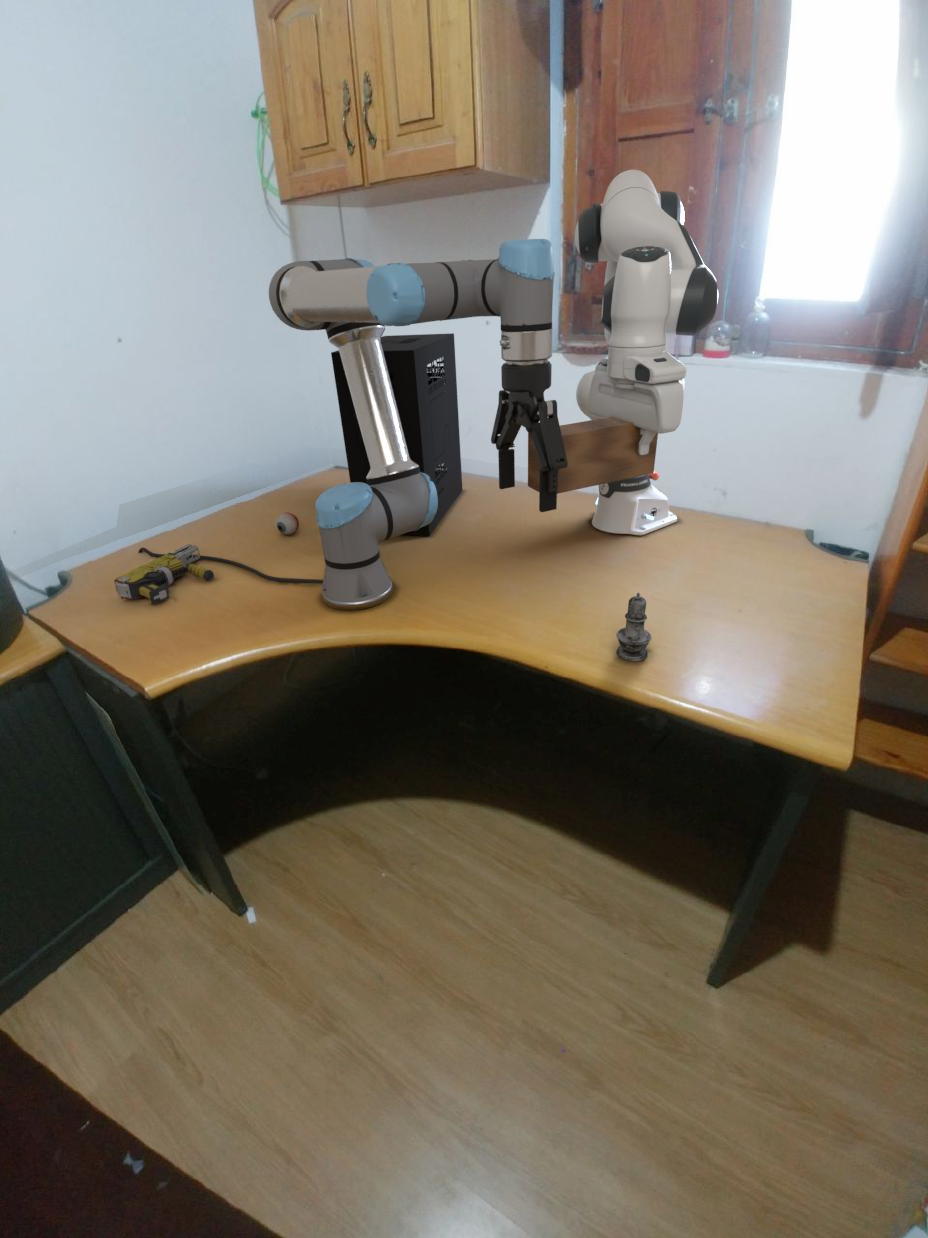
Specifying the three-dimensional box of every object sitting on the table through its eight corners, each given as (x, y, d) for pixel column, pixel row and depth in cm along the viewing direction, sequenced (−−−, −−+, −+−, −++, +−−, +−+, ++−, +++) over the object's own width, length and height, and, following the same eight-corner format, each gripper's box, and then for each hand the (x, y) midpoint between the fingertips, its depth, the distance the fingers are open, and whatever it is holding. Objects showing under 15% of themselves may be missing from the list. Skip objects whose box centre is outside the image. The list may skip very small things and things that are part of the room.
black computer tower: (429, 535, 159) (413, 350, 136) (357, 532, 163) (331, 352, 141) (462, 490, 190) (453, 333, 168) (401, 488, 195) (385, 335, 172)
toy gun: (236, 552, 148) (186, 541, 152) (163, 592, 128) (107, 579, 132) (239, 569, 150) (189, 559, 154) (167, 611, 130) (112, 598, 134)
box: (631, 464, 111) (636, 412, 106) (653, 473, 106) (660, 418, 101) (527, 486, 103) (527, 430, 99) (546, 496, 99) (547, 438, 94)
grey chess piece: (650, 663, 103) (658, 601, 97) (615, 660, 105) (620, 600, 99) (648, 644, 108) (655, 585, 102) (614, 642, 110) (620, 583, 104)
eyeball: (273, 537, 164) (268, 516, 161) (287, 528, 169) (282, 508, 166) (291, 539, 161) (286, 518, 158) (305, 530, 166) (301, 510, 163)
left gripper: (468, 356, 99) (473, 482, 109) (549, 373, 79) (546, 525, 89) (508, 351, 101) (510, 475, 112) (596, 366, 81) (588, 516, 92)
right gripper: (582, 359, 105) (578, 439, 112) (661, 373, 89) (651, 466, 96) (612, 355, 107) (606, 434, 114) (694, 368, 91) (682, 459, 98)
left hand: (526, 498), depth 101 cm, fingers open, 13 cm apart
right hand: (627, 448), depth 105 cm, fingers closed on box, 6 cm apart
